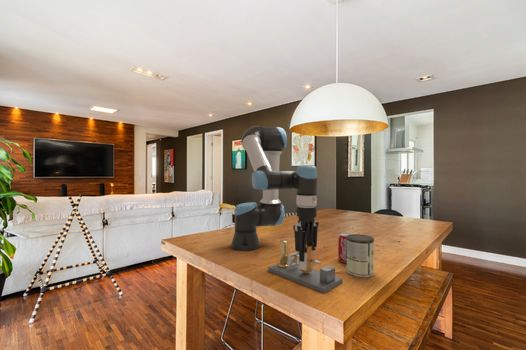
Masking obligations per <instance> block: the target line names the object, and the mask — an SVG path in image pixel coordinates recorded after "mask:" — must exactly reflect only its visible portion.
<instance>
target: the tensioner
mask: <svg viewBox="0 0 526 350" xmlns="http://www.w3.org/2000/svg"><path fill="white" fill-rule="evenodd" d="M319 271H320V282H322V283H324V284H329V283H331V282H333V281H335V276H336V267H334V266H330V265H325V266H324V267H321V268H319Z"/></svg>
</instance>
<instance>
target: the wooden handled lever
mask: <svg viewBox="0 0 526 350" xmlns="http://www.w3.org/2000/svg"><path fill="white" fill-rule="evenodd" d="M305 252H306V253H307V270H306V271H305V270H302V269H301V272H304V273H309V272H312V262H313V263H314V264H317V265H321V264H322V261H319V260H316V259H312V246H310V245H306V251H305ZM288 257H289V260H288V261H289V269H292V268H294V267H297V266H299V264H300V260H299V252H298V251H295V252H293V253H289V254H288ZM292 258H295V262H294V264H292Z"/></svg>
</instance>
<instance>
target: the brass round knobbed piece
mask: <svg viewBox="0 0 526 350" xmlns="http://www.w3.org/2000/svg"><path fill="white" fill-rule="evenodd" d="M287 260H288V261H289V255H288V240H285V239H282V240H280V241H279V262H278V263H277V264H278V267H281V268H287V267H289V263H287ZM292 262H294V263H295V257H293V258H292Z"/></svg>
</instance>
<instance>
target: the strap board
mask: <svg viewBox="0 0 526 350" xmlns="http://www.w3.org/2000/svg"><path fill="white" fill-rule="evenodd" d="M287 263H289V260H287ZM294 263H295V262H292V264H294ZM267 271H268V272H270V273H273V274H275V275H277V276H280V277H283V278H285V279H288V280H289V281H292V282H295V283H298V284H300V285H303V286H305V287H308V288H310V289H311V290H315V291H317V292H319V293H322V294H325V293H327V292H328V291H330V290H332V289H334V288H336V287H337V286H339V285H341V284H342V283H343V278H342V277H339V276H337V275H335V281H333V282H331V283H329V284H324V283H322V282H320V269H315V268H312V272H309V273H304V272H301V269H300V263H299V266H297V267H294V268H292V269H289V267H287V268H281V267H278V263H276V264H273V265H270V266H269V267H268V268H267Z"/></svg>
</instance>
